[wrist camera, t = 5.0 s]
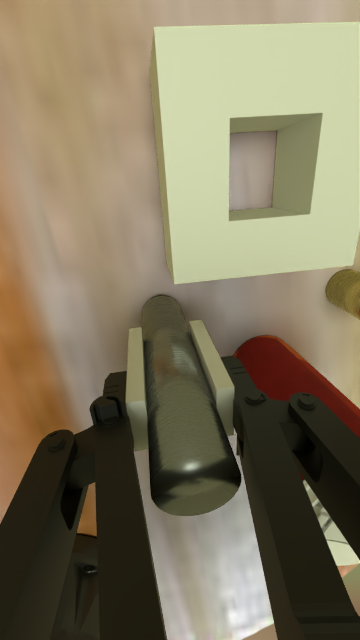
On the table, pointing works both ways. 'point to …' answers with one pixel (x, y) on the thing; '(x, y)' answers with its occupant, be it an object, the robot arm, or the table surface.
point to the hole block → (251, 116)
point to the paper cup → (279, 384)
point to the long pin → (182, 419)
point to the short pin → (345, 291)
